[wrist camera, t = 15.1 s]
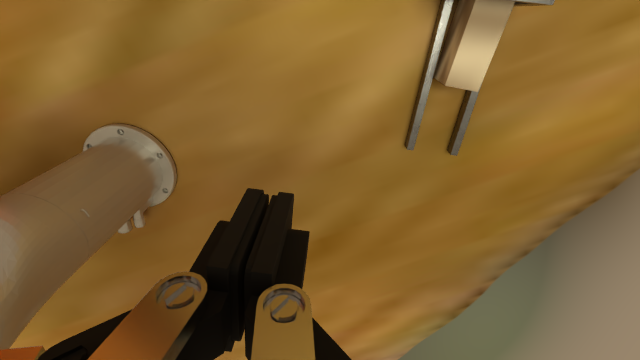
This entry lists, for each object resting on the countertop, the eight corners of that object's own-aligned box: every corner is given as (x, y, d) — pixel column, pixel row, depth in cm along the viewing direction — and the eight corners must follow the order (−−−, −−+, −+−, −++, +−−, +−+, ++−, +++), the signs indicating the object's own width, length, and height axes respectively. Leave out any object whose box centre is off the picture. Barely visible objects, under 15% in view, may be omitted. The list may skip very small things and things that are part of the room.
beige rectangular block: (461, 82, 37) (478, 92, 32) (432, 76, 37) (445, 85, 32) (508, -41, 31) (536, -50, 27) (474, -48, 31) (496, -58, 26)
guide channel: (453, 150, 40) (457, 155, 39) (404, 144, 40) (406, 149, 39) (502, 5, 33) (508, 5, 31) (441, -2, 33) (446, -3, 31)
